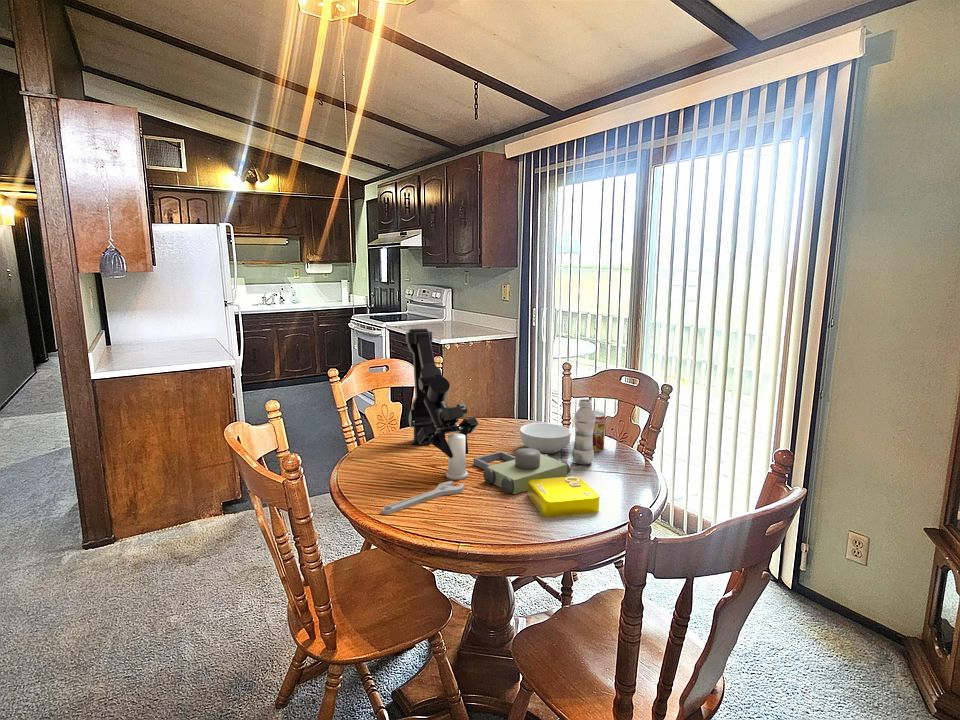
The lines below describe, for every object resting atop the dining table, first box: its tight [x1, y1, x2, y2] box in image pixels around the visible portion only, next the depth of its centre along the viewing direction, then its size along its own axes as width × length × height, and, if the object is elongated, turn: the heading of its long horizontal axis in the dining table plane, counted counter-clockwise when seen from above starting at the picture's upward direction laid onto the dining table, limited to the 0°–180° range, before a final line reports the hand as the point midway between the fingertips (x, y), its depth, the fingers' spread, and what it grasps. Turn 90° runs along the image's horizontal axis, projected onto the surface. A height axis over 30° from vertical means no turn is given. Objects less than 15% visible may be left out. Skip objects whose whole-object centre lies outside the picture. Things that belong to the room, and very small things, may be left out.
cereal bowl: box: [519, 422, 571, 454], centre depth 181 cm, size 17×17×7 cm
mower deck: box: [473, 447, 571, 495], centre depth 160 cm, size 24×22×8 cm
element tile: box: [527, 475, 600, 518], centre depth 140 cm, size 15×15×5 cm
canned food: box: [592, 410, 606, 453], centre depth 182 cm, size 8×8×12 cm
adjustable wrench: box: [381, 480, 465, 515], centre depth 142 cm, size 25×6×2 cm, turn 128°
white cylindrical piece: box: [445, 433, 469, 481], centre depth 157 cm, size 6×6×12 cm
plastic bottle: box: [571, 398, 596, 466], centre depth 167 cm, size 6×7×20 cm
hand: (459, 455), depth 156 cm, fingers closed on white cylindrical piece, 5 cm apart
